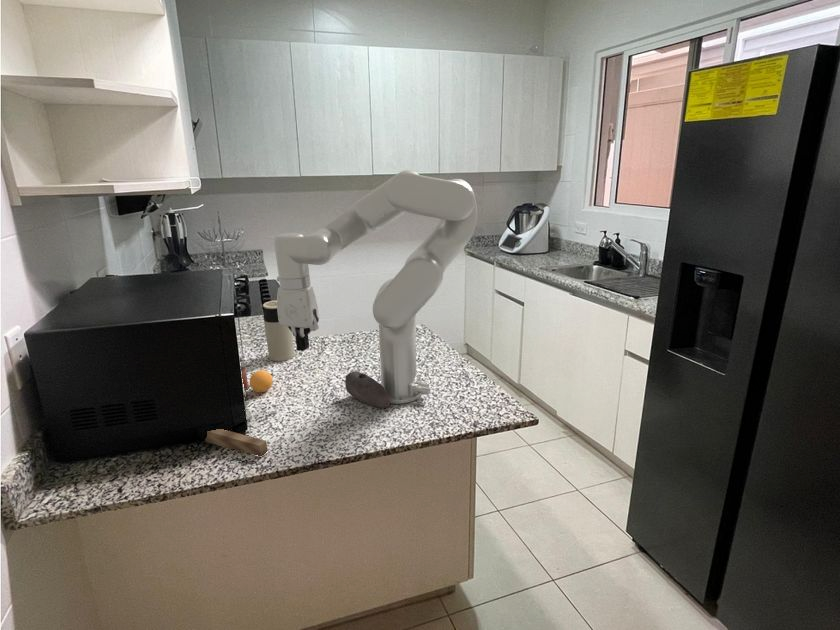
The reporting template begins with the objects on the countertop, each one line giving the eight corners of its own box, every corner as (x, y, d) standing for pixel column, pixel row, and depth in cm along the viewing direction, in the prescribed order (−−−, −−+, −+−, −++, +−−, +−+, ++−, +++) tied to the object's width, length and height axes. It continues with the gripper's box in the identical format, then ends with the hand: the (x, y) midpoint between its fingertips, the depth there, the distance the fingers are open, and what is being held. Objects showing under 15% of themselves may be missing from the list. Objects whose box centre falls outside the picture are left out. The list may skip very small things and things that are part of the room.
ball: (250, 378, 137) (271, 372, 138) (254, 397, 134) (276, 391, 136) (245, 370, 131) (267, 364, 133) (249, 391, 129) (272, 384, 130)
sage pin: (250, 420, 120) (221, 437, 113) (243, 415, 121) (214, 431, 114) (251, 413, 119) (222, 429, 112) (244, 408, 120) (215, 424, 113)
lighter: (222, 387, 137) (216, 354, 134) (231, 382, 140) (226, 350, 137) (242, 393, 133) (237, 359, 130) (252, 387, 136) (247, 355, 133)
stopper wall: (267, 452, 107) (266, 440, 106) (261, 457, 105) (260, 445, 104) (206, 435, 114) (204, 424, 113) (200, 439, 112) (197, 428, 111)
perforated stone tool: (396, 408, 125) (395, 383, 122) (381, 416, 121) (380, 391, 119) (359, 389, 134) (357, 367, 132) (344, 396, 131) (342, 373, 129)
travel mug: (279, 364, 151) (272, 309, 145) (263, 358, 156) (256, 304, 150) (299, 355, 157) (294, 302, 151) (284, 350, 162) (277, 298, 156)
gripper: (261, 284, 123) (271, 350, 129) (310, 288, 117) (318, 358, 123) (280, 276, 129) (289, 340, 135) (328, 280, 123) (334, 347, 129)
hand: (303, 348), depth 129 cm, fingers closed
